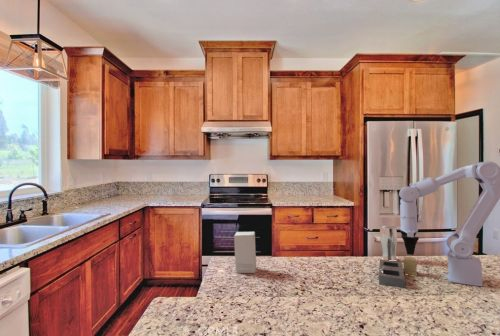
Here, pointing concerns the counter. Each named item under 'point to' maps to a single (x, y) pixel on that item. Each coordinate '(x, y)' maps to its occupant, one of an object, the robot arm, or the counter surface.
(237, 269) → the skincare box
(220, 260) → the counter surface
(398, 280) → the grey piece
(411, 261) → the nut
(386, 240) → the beer glass
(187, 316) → the counter surface
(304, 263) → the counter surface
